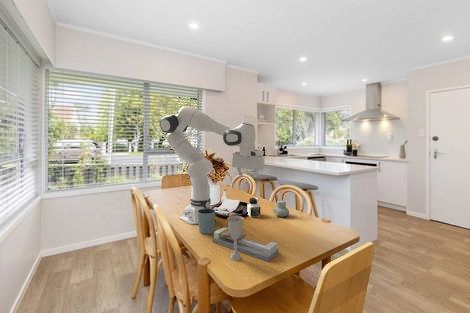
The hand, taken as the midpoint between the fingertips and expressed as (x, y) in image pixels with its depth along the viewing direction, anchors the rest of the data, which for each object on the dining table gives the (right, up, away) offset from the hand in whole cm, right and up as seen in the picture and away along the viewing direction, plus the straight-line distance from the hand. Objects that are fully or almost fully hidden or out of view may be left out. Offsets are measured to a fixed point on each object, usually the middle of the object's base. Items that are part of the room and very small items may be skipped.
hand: (247, 176), depth 134 cm
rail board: (-3, -33, -19) cm, 38 cm away
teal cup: (-23, -31, 0) cm, 39 cm away
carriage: (-8, -29, -16) cm, 34 cm away
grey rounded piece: (+24, -29, +27) cm, 47 cm away
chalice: (-7, -34, -29) cm, 45 cm away
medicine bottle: (+6, -29, +27) cm, 40 cm away
